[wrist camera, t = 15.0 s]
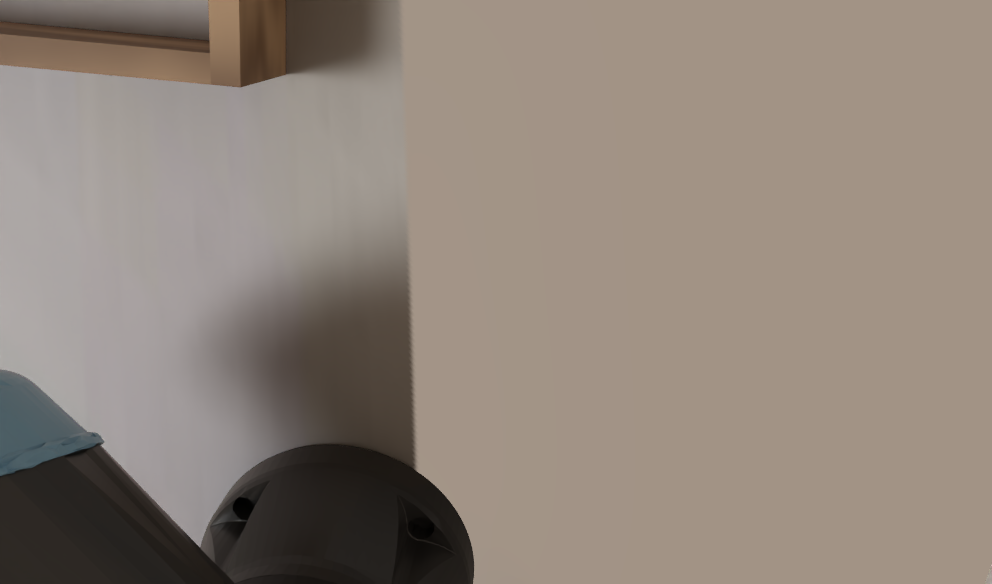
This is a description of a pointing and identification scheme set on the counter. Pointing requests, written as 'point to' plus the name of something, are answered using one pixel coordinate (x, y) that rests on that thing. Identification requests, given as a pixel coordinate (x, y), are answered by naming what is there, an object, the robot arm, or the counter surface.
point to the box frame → (163, 48)
